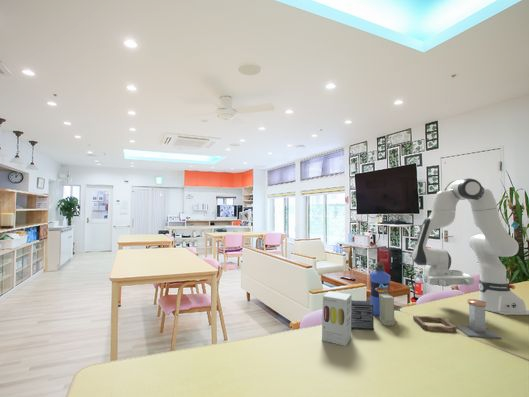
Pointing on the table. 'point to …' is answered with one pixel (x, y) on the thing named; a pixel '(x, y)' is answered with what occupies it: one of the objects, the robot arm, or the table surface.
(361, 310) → the small box
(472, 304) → the copper-capped steel post
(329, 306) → the supplement box
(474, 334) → the charcoal mat
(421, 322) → the brown wooden square frame
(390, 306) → the skincare box
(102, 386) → the table surface
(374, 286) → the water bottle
